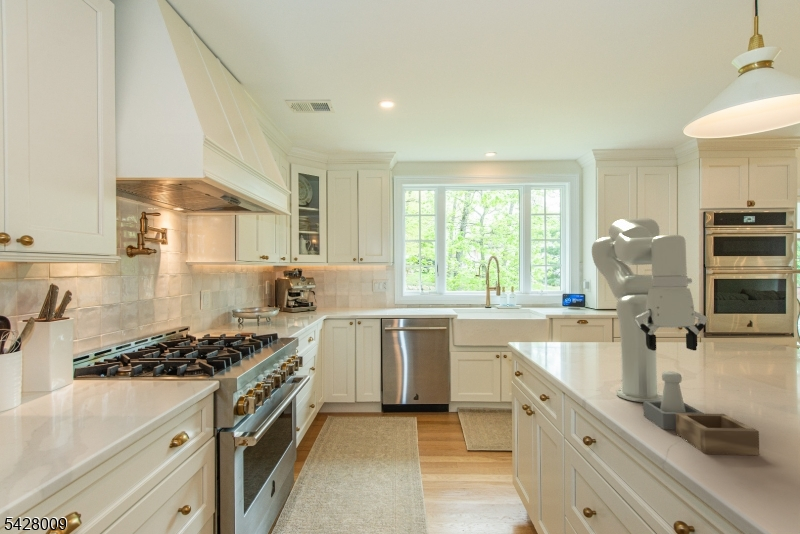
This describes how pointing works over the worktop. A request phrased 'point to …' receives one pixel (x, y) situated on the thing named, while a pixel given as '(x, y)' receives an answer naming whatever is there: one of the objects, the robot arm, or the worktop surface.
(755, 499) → the worktop surface
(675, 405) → the salt shaker
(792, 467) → the worktop surface
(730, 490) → the worktop surface
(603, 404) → the worktop surface
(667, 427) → the grey open tray
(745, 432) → the brown wooden open box
